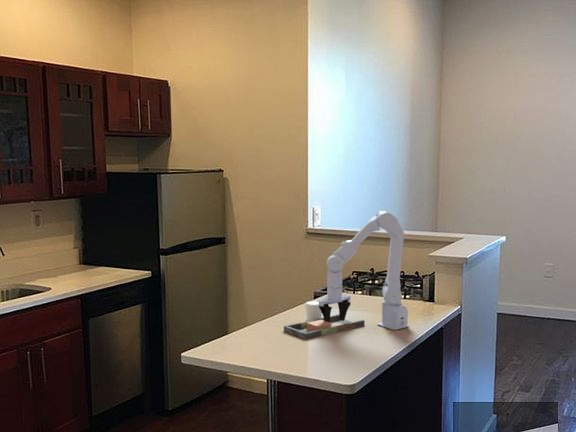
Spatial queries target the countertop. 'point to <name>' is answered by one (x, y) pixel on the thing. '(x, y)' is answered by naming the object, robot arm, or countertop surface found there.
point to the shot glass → (313, 310)
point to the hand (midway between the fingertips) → (334, 321)
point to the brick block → (318, 325)
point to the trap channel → (297, 331)
